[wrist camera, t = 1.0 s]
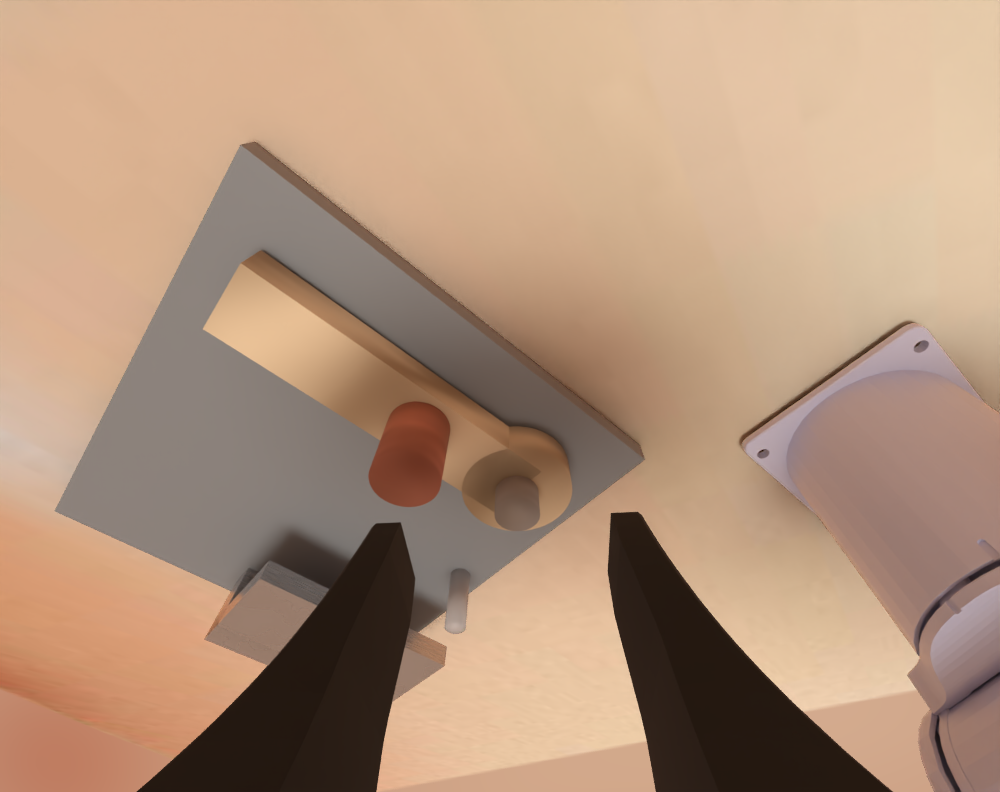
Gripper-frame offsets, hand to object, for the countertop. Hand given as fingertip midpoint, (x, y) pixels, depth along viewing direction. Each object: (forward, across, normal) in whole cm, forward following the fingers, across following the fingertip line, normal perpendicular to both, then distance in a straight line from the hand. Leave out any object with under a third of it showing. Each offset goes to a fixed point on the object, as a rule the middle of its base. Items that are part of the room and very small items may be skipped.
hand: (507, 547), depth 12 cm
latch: (+9, +4, +1) cm, 10 cm away
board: (+10, +8, +6) cm, 14 cm away
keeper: (+10, +9, +14) cm, 20 cm away
